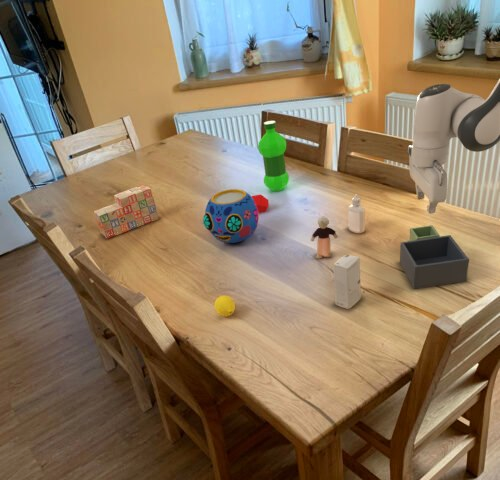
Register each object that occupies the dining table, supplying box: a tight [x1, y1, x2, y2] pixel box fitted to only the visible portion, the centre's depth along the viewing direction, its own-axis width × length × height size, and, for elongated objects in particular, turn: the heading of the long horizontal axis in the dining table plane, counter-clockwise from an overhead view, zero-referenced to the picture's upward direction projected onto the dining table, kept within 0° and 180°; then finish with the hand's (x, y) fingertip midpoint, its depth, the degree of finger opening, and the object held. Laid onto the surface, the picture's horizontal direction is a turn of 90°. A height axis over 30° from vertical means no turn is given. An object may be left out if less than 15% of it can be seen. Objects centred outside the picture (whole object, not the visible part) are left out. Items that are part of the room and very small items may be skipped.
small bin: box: [408, 224, 441, 241], centre depth 143 cm, size 6×6×5 cm
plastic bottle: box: [257, 120, 290, 192], centre depth 187 cm, size 10×10×25 cm
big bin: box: [399, 235, 470, 290], centre depth 132 cm, size 13×13×7 cm
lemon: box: [213, 295, 236, 317], centre depth 131 cm, size 7×5×5 cm
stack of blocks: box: [93, 184, 160, 239], centre depth 183 cm, size 21×6×12 cm, turn 123°
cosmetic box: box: [332, 253, 362, 310], centre depth 125 cm, size 6×4×12 cm
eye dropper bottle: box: [347, 193, 366, 234], centre depth 154 cm, size 4×6×12 cm
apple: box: [250, 194, 270, 214], centre depth 179 cm, size 7×7×8 cm
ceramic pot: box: [202, 188, 260, 244], centre depth 162 cm, size 18×18×15 cm
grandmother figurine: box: [310, 216, 338, 259], centre depth 145 cm, size 8×4×13 cm, turn 99°
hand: (425, 205), depth 136 cm, fingers open, 8 cm apart
